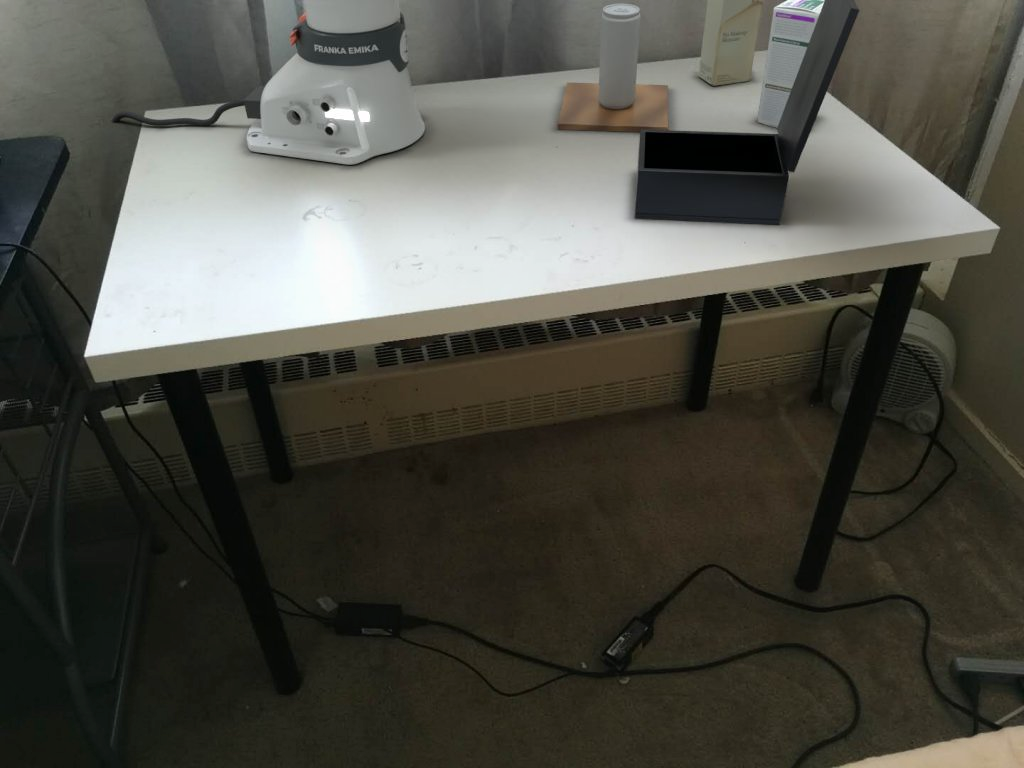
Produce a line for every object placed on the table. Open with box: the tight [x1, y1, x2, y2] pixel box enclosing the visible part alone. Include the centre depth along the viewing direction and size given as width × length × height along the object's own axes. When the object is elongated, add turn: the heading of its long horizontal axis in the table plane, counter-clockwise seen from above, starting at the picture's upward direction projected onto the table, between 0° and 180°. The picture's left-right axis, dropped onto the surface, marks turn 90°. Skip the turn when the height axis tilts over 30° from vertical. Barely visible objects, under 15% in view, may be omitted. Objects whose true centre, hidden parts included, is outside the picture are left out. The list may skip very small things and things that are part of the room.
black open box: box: [634, 129, 790, 226], centre depth 93 cm, size 15×10×6 cm
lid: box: [776, 0, 860, 173], centre depth 85 cm, size 16×10×1 cm
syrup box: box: [756, 0, 825, 129], centre depth 106 cm, size 6×6×14 cm
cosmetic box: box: [698, 0, 764, 87], centre depth 118 cm, size 6×4×12 cm
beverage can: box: [598, 3, 641, 109], centre depth 110 cm, size 5×5×12 cm
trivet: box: [556, 82, 669, 133], centre depth 114 cm, size 14×14×1 cm
